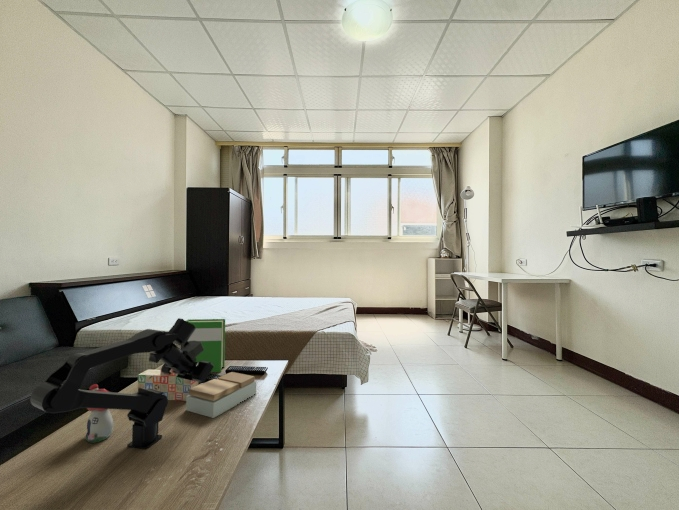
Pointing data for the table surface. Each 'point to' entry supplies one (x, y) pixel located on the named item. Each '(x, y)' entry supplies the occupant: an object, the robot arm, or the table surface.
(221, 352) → the hardback book
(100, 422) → the decorative ornament
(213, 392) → the board
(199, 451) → the table surface
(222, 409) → the white box
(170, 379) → the stack of blocks
